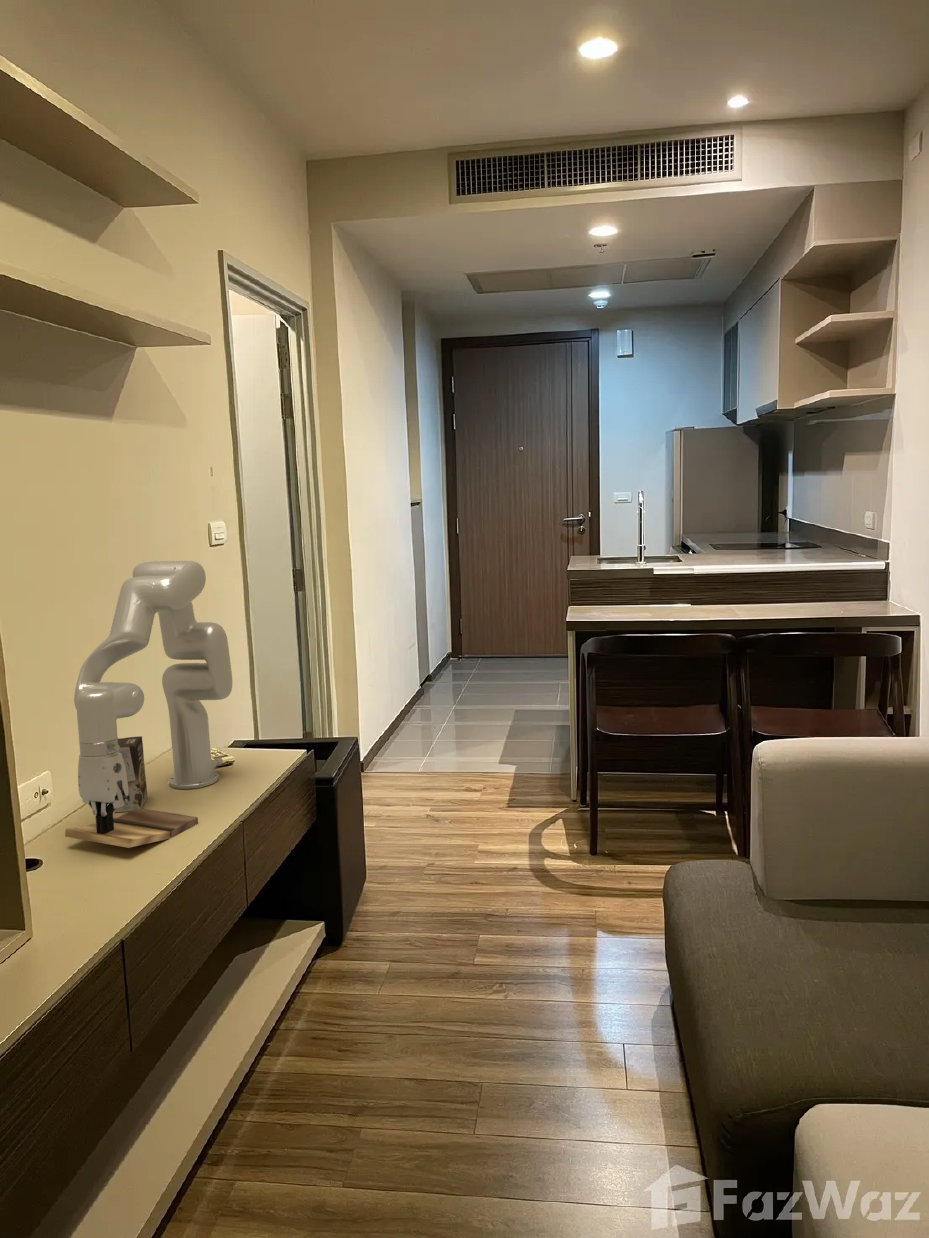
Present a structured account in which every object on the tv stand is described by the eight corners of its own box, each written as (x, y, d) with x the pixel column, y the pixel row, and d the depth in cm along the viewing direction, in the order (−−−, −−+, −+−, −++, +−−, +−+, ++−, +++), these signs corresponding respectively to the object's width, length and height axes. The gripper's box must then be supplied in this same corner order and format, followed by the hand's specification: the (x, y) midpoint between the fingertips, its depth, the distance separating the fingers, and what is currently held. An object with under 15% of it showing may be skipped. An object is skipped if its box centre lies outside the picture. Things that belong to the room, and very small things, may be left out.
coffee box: (141, 810, 210) (135, 745, 207) (113, 813, 209) (107, 748, 206) (148, 797, 219) (143, 735, 216) (121, 800, 218) (115, 737, 215)
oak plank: (108, 828, 199) (108, 820, 199) (169, 838, 192) (170, 830, 192) (64, 836, 188) (65, 828, 188) (128, 847, 181) (129, 839, 181)
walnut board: (138, 813, 208) (137, 806, 207) (198, 823, 200) (197, 816, 200) (110, 826, 200) (110, 819, 200) (172, 837, 193) (171, 829, 192)
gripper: (139, 746, 185) (145, 830, 187) (87, 740, 191) (93, 822, 193) (111, 755, 178) (118, 842, 180) (58, 749, 184) (65, 833, 186)
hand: (105, 831), depth 187 cm, fingers closed
